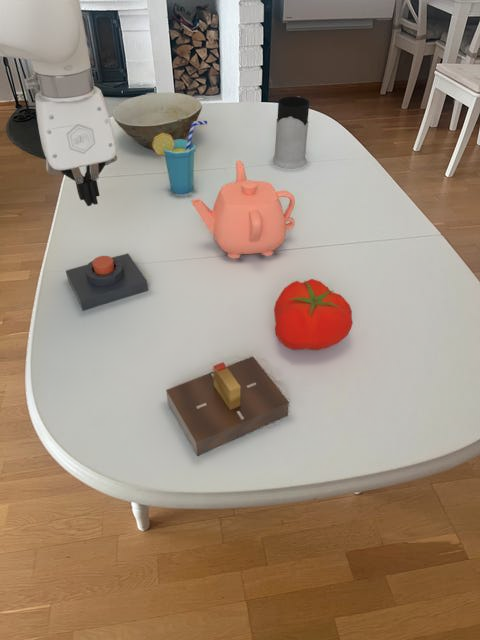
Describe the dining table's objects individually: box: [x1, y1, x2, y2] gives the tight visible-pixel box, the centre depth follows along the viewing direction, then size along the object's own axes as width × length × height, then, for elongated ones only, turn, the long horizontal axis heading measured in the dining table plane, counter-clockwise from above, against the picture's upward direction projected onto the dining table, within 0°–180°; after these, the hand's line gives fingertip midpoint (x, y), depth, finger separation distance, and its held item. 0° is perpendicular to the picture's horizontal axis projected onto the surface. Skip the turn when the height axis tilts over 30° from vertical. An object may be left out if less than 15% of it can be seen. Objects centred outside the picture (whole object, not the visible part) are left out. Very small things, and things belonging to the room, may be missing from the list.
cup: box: [152, 120, 208, 195], centre depth 119 cm, size 14×8×15 cm, turn 129°
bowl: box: [112, 92, 203, 150], centre depth 141 cm, size 24×24×10 cm
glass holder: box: [272, 95, 310, 169], centre depth 132 cm, size 9×14×15 cm, turn 166°
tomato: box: [273, 278, 353, 351], centre depth 82 cm, size 14×13×9 cm
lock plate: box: [165, 355, 290, 457], centre depth 73 cm, size 14×10×3 cm
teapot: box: [191, 160, 296, 259], centre depth 102 cm, size 16×17×14 cm
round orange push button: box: [91, 255, 114, 275], centre depth 92 cm, size 4×4×2 cm
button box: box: [65, 253, 149, 311], centre depth 94 cm, size 12×10×4 cm
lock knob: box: [212, 362, 241, 410], centre depth 70 cm, size 5×2×4 cm, turn 28°
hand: (90, 201), depth 84 cm, fingers closed
